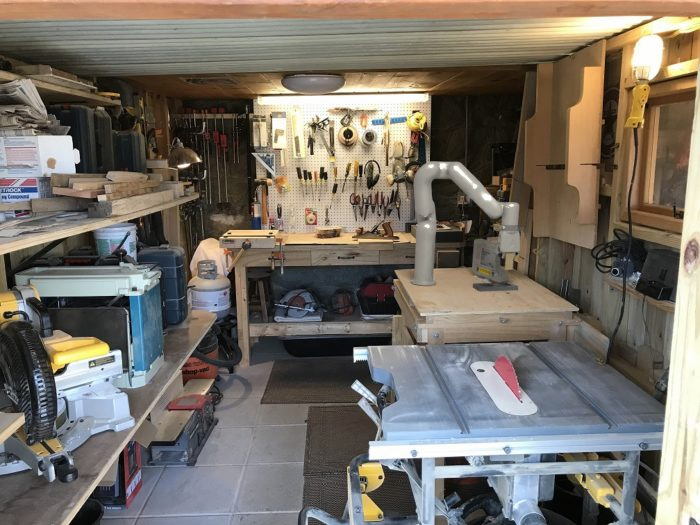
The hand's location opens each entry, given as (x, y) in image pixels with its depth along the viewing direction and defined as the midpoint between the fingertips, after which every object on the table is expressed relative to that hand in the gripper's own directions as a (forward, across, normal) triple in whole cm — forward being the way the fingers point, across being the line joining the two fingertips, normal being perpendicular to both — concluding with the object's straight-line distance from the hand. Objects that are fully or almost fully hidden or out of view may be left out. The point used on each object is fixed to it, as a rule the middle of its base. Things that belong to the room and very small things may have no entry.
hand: (506, 265), depth 265 cm
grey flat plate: (+11, -5, 0) cm, 13 cm away
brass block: (+2, 0, 0) cm, 2 cm away
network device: (+12, 0, +17) cm, 21 cm away
